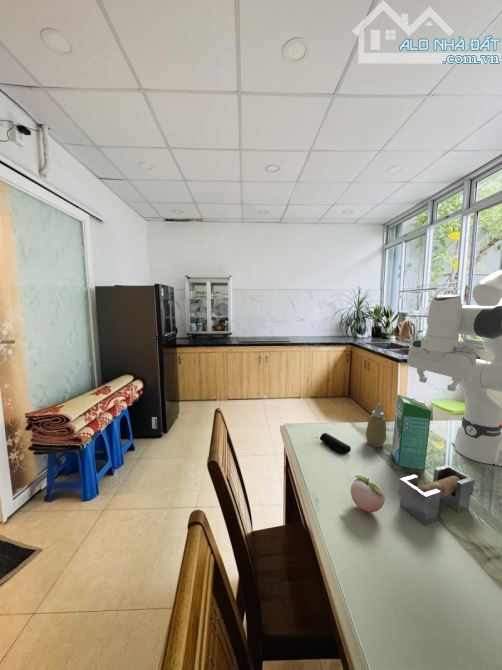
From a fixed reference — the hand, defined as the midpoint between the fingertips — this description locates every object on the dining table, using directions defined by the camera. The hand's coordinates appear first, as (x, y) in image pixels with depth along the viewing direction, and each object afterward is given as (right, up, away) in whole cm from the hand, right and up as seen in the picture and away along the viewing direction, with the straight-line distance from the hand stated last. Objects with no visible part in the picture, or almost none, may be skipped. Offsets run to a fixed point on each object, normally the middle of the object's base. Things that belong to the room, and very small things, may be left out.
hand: (436, 386), depth 90 cm
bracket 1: (-13, -35, -11) cm, 39 cm away
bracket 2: (0, -35, -6) cm, 35 cm away
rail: (-6, -30, -11) cm, 33 cm away
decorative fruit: (-28, -35, -11) cm, 46 cm away
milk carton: (-1, -32, +15) cm, 35 cm away
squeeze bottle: (-8, -30, +27) cm, 42 cm away
